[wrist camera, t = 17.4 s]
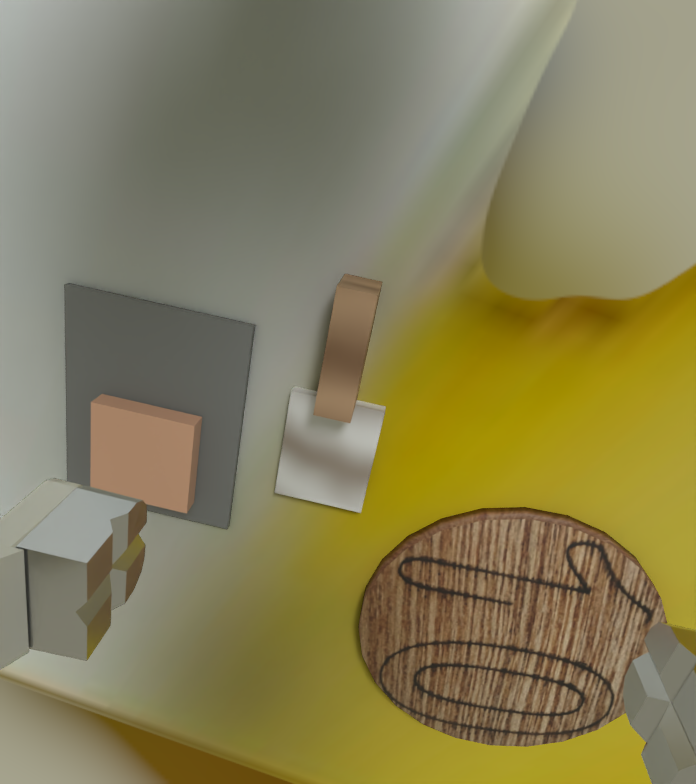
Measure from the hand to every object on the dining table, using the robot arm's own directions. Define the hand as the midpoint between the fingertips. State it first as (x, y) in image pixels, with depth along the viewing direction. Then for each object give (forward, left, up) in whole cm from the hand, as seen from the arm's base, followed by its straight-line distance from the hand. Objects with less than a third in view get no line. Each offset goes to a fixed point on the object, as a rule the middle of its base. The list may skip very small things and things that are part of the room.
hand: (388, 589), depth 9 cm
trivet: (+29, +15, -32) cm, 45 cm away
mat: (+16, -17, -31) cm, 39 cm away
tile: (+15, -17, -30) cm, 37 cm away
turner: (+11, -3, -31) cm, 33 cm away
